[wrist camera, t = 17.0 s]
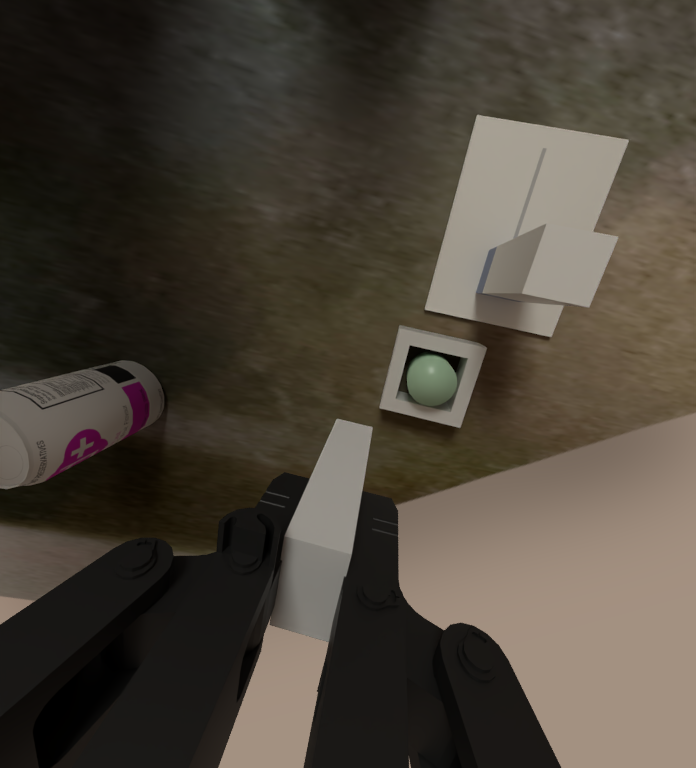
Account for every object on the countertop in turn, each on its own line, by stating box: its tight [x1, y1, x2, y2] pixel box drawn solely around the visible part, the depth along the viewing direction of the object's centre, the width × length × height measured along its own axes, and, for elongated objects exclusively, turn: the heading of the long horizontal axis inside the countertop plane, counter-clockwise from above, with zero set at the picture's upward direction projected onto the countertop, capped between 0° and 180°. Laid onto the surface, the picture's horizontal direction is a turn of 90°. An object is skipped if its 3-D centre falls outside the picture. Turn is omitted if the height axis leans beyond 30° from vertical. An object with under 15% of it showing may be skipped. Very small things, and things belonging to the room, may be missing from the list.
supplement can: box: [0, 360, 164, 489], centre depth 32 cm, size 8×8×15 cm
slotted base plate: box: [425, 115, 629, 337], centre depth 29 cm, size 16×12×1 cm
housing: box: [379, 325, 487, 428], centre depth 32 cm, size 8×8×3 cm
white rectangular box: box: [476, 223, 618, 307], centre depth 24 cm, size 4×4×12 cm
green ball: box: [406, 352, 457, 406], centre depth 31 cm, size 4×4×4 cm
